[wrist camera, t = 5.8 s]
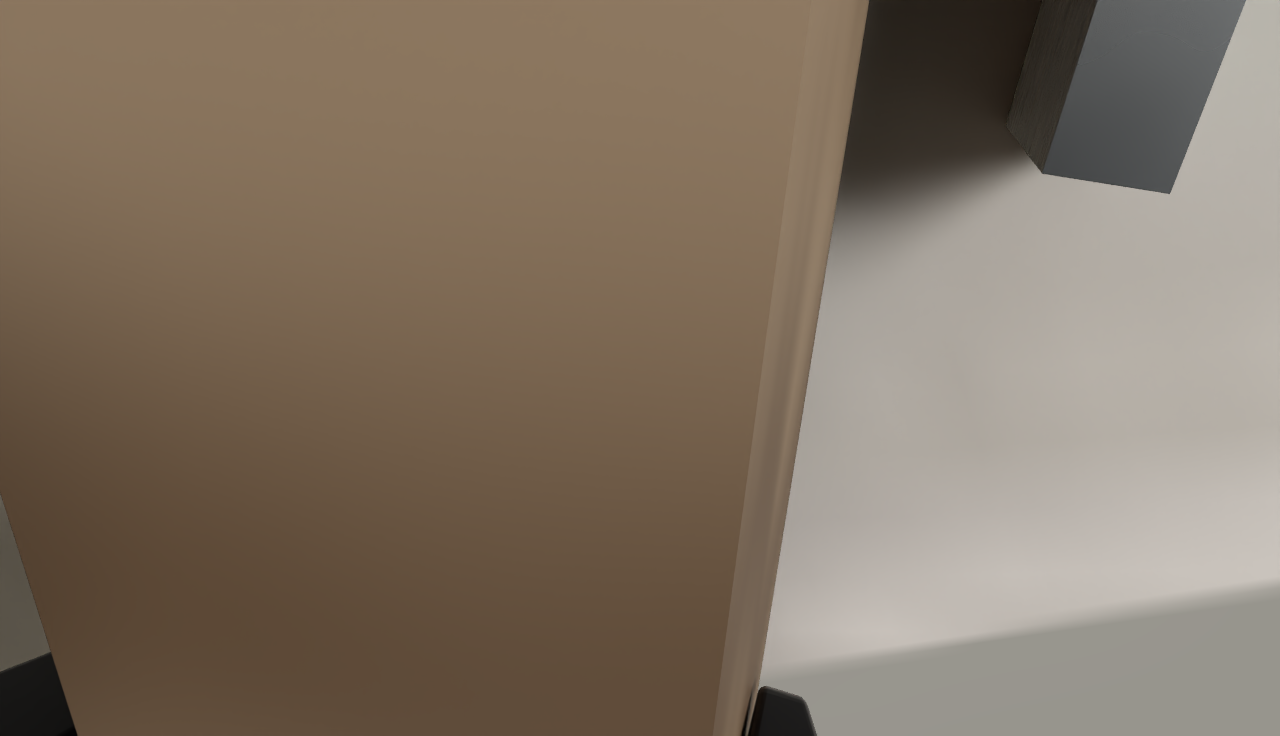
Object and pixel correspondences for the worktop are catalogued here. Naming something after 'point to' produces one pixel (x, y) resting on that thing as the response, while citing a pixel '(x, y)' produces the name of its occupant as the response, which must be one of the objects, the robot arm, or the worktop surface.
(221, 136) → the block
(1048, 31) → the bracket
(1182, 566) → the worktop surface
